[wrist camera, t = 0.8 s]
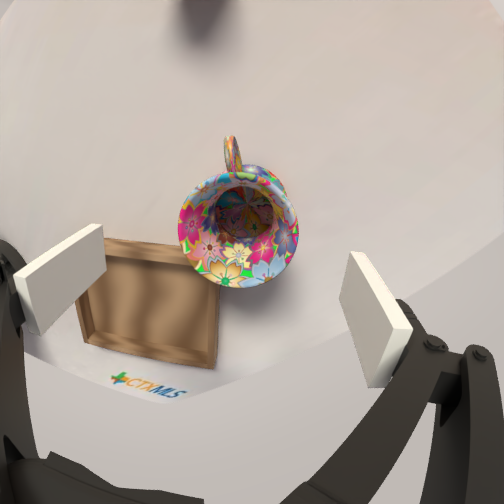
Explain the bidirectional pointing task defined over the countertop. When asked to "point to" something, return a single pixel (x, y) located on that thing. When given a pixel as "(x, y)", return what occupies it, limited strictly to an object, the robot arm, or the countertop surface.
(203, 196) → the mug
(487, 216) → the countertop surface
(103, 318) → the tray
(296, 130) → the countertop surface
